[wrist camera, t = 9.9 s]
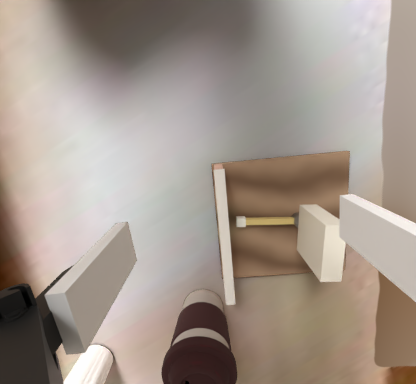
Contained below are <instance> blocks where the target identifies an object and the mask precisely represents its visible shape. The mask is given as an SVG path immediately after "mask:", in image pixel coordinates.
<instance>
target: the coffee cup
mask: <svg viewBox="0 0 416 384" xmlns="http://www.w3.org/2000/svg"><path fill="white" fill-rule="evenodd" d="M162 379H163V383H164V384H235V383H236V380H237V369H236V361H235V358H234V356H233V354H232V352H231V346H230V339H229V333H228V327H227V321H226V317H225V315H224V310H223V304H222V301H221V299H220V297H219V296H218V295H217V294H216V293H214V292H212V291H210V290H205V289H201V290H196V291H193V292H192V293H190V294H189V295H188V296H187V297H186V299H185V301H184V304H183V308H182V311H181V313H180V315H179V318H178V321H177V325H176V328H175V332H174V335H173V339H172V342H171V347H170V349H169V350H168V352H167V353H166V355H165V358H164V362H163V367H162Z"/></svg>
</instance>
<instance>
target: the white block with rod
mask: <svg viewBox="0 0 416 384" xmlns="http://www.w3.org/2000/svg"><path fill="white" fill-rule="evenodd" d="M339 221H340V219H338V218H336V217H335V216H333V215H332V214H330V213H329V212H327V211H326V210H324V209H323V208H321V207H320V206H318V205H317V204H313V205H300V208H299V213H298V212H297V213H294V214H293V215H292V216H291V217H260V218H245V216H236V226H237V227H246V225H281V224H294V225H295V226H296V227H297V228H298V239H297V251H298V252H299V253H300V255H301V256H302V258H303V259H304V260H305V262H306V263H307V264H308V266H309V267H310V268H311V270H312V271H313V273H314V274H315V275H316V277H317V278H318V279H319V281H320V282H341V280H342V271H343V263H344V254H345V246H346V242H345V241H344V240H342V239H341V238H340V237H339Z"/></svg>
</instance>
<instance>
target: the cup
mask: <svg viewBox="0 0 416 384" xmlns="http://www.w3.org/2000/svg"><path fill="white" fill-rule="evenodd" d="M112 363H113V355H112V353H111V352H110V350H108V349H107V348H105V347H103V346H100V345H91V346H89V347H88V349H87V351H86V353H82V354H81V356H80V357H79V359H78V360H77V362H76V363H75V365H74V367H73V368H72V370H71V371H70V373H69V374H68V376H67V378H66V379H65V381H64V382H63V383H64V384H105V381H106V378H107V376H108V373H109V371H110V368H111V366H112Z"/></svg>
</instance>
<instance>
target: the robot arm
mask: <svg viewBox="0 0 416 384" xmlns="http://www.w3.org/2000/svg"><path fill="white" fill-rule="evenodd" d="M339 237H340V238H341V239H342V240H344V241H345V242H346V243H347V244H348V245H349V246H351V247H352V248H353V249H354V250H355V251H356V252H358V253H359V254H360V255H361V256H362V257H363V258H365V259H366V260H367V261H368V262H369V263H370V264H372V265H373V266H374V267H375V268H376V269H377V270H379V271H380V272H381V273H382V274H383V275H385V276H386V277H387V278H388V279H389V280H390V281H392V282H393V283H394V284H395V285H396V286H397V287H399V288H400V289H401V290H402V291H403V292H405V293H406V294H407V295H408V296H409V297H410V298H411V299H413V300H414V301H415V302H416V223H414V222H412V221H410V220H407V219H405V218H403V217H401V216H399V215H397V214H395V213H392V212H390V211H388V210H386V209H384V208H382V207H380V206H378V205H375V204H373V203H371V202H369V201H367V200H365V199H363V198H360V197H358V196H356V195H354V194H348V195H340V221H339ZM136 261H137V258H136V254H135V250H134V246H133V242H132V238H131V234H130V229H129V225H128V222H122V223H116V224H115V225H114V226H113V227H112V228H111V229H110V230H109V231H108V232H107V233H106V234H105V235H104V236H103V237H102V238H101V239H100V240H99V241H98V242H97V243H96V244H95V245H94V246H93V247H92V248H91V249H90V250H89V251H88V252H87V253H86V254H85V255H84V256H83V257H82V258H81V259H80V260H79V261H78V262H77V263H76V264H75V265H73V266H71V267H70V268H68V269H67V270H65V271H63V272H62V273H61V274H60V275H59V276H58V277H57V278H56V280H54V281H53V282H52V283H51V284H50V286H48V287H47V288H46V289H45V290H44V291H43V292H42V293H41V294H40V295H39V296H38V297H37V298H36V299H35V298H34V295H33V292H32V290H31V287H30V286H29V284H18V285H14V286H11V287H8V288H6V289H4V290H2V291H0V384H64V383H63V379H62V374H61V370H60V365H59V360H58V357H57V355H56V350H57V349H58V347H59V346H60V345H61V343H62V344H63V347H64V349H65V352H66V355H68V354H78V353H86V351H87V349H88V347H89V345H90V344H91V342H92V340H93V338H94V336H95V335H96V333H97V331H98V329H99V328H100V326H101V324H102V322H103V320H104V319H105V317H106V315H107V313H108V311H109V310H110V308H111V306H112V304H113V302H114V301H115V299H116V297H117V295H118V294H119V292H120V290H121V288H122V286H123V285H124V283H125V281H126V279H127V277H128V276H129V274H130V272H131V270H132V268H133V267H134V265H135V263H136Z"/></svg>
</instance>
